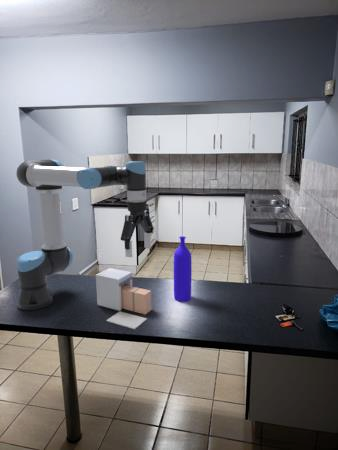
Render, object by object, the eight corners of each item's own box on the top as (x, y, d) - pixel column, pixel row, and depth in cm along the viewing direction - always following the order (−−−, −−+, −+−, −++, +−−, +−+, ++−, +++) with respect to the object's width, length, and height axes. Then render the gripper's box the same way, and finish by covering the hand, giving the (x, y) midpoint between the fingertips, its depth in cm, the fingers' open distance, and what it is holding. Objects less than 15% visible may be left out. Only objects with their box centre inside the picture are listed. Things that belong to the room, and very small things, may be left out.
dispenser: (97, 304, 154) (95, 274, 151) (111, 296, 162) (109, 267, 159) (120, 311, 148) (119, 279, 145) (133, 302, 156) (132, 272, 153)
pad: (106, 321, 139) (106, 320, 139) (119, 312, 147) (119, 311, 147) (134, 329, 133) (134, 328, 132) (146, 319, 140) (146, 318, 140)
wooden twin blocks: (115, 306, 152) (114, 287, 150) (122, 302, 157) (121, 283, 155) (145, 314, 145) (144, 294, 143) (151, 309, 149) (151, 290, 147)
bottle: (176, 303, 155) (176, 240, 148) (171, 296, 163) (171, 235, 156) (193, 301, 157) (194, 238, 150) (188, 293, 165) (188, 234, 158)
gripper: (126, 206, 122) (128, 262, 126) (161, 197, 143) (161, 245, 147) (109, 204, 125) (112, 259, 130) (146, 196, 146) (147, 243, 151)
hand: (138, 252), depth 139 cm, fingers open, 13 cm apart
